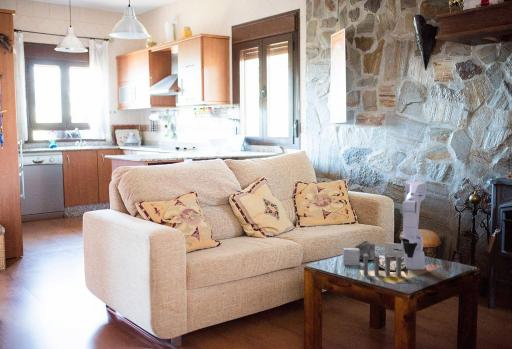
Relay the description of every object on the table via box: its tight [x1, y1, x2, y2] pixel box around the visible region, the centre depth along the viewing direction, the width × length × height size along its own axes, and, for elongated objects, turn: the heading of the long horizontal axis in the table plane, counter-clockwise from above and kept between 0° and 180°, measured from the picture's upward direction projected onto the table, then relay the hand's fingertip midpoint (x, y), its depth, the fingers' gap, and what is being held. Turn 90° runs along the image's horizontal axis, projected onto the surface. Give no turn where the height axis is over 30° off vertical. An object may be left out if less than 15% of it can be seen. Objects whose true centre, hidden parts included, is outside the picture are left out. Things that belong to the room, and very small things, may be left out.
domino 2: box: [384, 253, 391, 277], centre depth 244 cm, size 2×5×9 cm, turn 174°
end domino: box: [362, 254, 369, 275], centre depth 245 cm, size 2×5×9 cm, turn 174°
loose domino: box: [395, 254, 402, 276], centre depth 244 cm, size 2×5×9 cm, turn 174°
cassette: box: [384, 242, 404, 257], centre depth 279 cm, size 12×2×8 cm, turn 63°
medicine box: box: [342, 247, 360, 266], centre depth 263 cm, size 8×4×9 cm, turn 84°
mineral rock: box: [354, 240, 376, 261], centre depth 276 cm, size 13×11×10 cm
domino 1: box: [373, 253, 380, 277], centre depth 245 cm, size 2×5×9 cm, turn 174°
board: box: [359, 269, 408, 278], centre depth 246 cm, size 20×9×1 cm, turn 84°
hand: (408, 255), depth 242 cm, fingers open, 7 cm apart
